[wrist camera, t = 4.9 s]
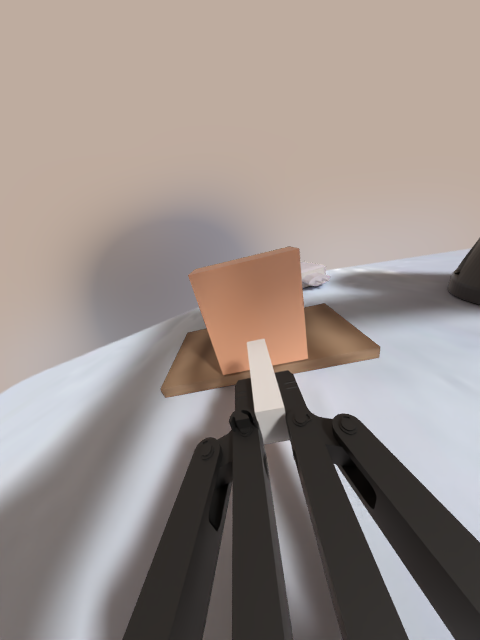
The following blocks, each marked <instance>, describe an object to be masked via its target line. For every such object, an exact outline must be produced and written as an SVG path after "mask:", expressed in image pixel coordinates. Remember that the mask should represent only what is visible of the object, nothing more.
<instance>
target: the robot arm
mask: <svg viewBox="0 0 480 640" xmlns="http://www.w3.org/2000/svg"><path fill="white" fill-rule="evenodd" d="M448 291H449V292H450V293H451V294H453V295H454V296H456V297H458V298H461V299H463V300H466V301H469V302H473V303H476V304H480V238H479V240H478V241H477V242H476V244H475V245H474V246H473V247H472V249H471V250H470V251H469V253H468V254H467V255H466V257H465V258H464V259H463V261H462V262H461V263H460V265H459V266H458V268H457V269H456V270H455V271H454V272H453V274H452V275H451V278H450V282H449V285H448ZM247 350H248V358H249V367H250V375H251V378H247V379H242V380H238V381H237V384H236V386H235V411H234V412H233V413H232V415H231V416H230V419H229V423H230V426H231V428H232V430H231V431H230V432H229V433H228V434H227V435H225V436H223V437H222V438H220V439H218V440H216V439H215V438H212V437H210V438H206V439H204V440H202V441H201V442H200V443H199V444H198V445H197V447H196V449H195V451H194V454H193V456H192V459H191V462H190V464H189V467H188V469H187V472H186V475H185V477H184V480H183V482H182V485H181V488H180V490H179V493H178V496H177V498H176V501H175V503H174V506H173V509H172V511H171V514H170V517H169V519H168V522H167V524H166V527H165V530H164V532H163V535H162V537H161V540H160V543H159V545H158V548H157V551H156V553H155V556H154V558H153V561H152V564H151V566H150V569H149V571H148V574H147V577H146V579H145V582H144V585H143V587H142V590H141V592H140V595H139V598H138V600H137V603H136V606H135V608H134V611H133V613H132V616H131V619H130V621H129V624H128V626H127V629H126V632H125V634H124V637H123V640H202V637H203V632H204V627H205V622H206V617H207V611H208V606H209V601H210V596H211V590H212V585H213V580H214V575H215V570H216V564H217V559H218V554H219V549H220V543H221V538H222V533H223V528H224V523H225V517H226V512H227V507H228V502H229V496H230V491H231V486H232V481H233V551H232V640H293V635H292V629H291V622H290V615H289V608H288V601H287V595H286V588H285V581H284V574H283V567H282V560H281V554H280V547H279V540H278V533H277V526H276V520H275V513H274V506H273V499H272V492H271V486H270V479H269V472H268V465H267V458H266V454H265V450H264V444H269V443H275V442H281V441H287V440H290V442H291V445H292V451H293V456H294V460H295V462H296V466H297V470H298V474H299V477H300V481H301V485H302V489H303V492H304V496H305V500H306V504H307V507H308V511H309V515H310V519H311V522H312V526H313V530H314V534H315V537H316V541H317V545H318V549H319V552H320V556H321V560H322V564H323V567H324V571H325V575H326V579H327V582H328V586H329V590H330V594H331V597H332V601H333V605H334V609H335V612H336V616H337V620H338V624H339V628H340V631H341V635H342V639H343V640H409V639H408V636H407V634H406V632H405V629H404V627H403V625H402V622H401V620H400V618H399V615H398V613H397V611H396V608H395V606H394V604H393V601H392V599H391V597H390V594H389V592H388V590H387V587H386V585H385V583H384V581H383V578H382V576H381V574H380V571H379V569H378V567H377V564H376V562H375V560H374V557H373V555H372V553H371V550H370V548H369V546H368V543H367V541H366V539H365V536H364V534H363V532H362V529H361V527H360V525H359V522H358V520H357V518H356V515H355V513H354V511H353V508H352V506H351V504H350V501H349V499H348V497H347V494H346V492H345V490H344V487H343V485H342V483H341V480H340V478H339V476H338V473H337V471H336V469H335V466H334V464H336V465H337V466H338V468H339V469H340V471H341V472H342V474H343V475H344V476H345V478H346V479H347V481H348V482H349V484H350V485H351V487H352V488H353V490H354V491H355V493H356V494H357V496H358V497H359V499H360V500H361V502H362V503H363V504H364V506H365V507H366V509H367V510H368V512H369V513H370V515H371V516H372V518H373V519H374V521H375V522H376V524H377V525H378V527H379V528H380V530H381V531H382V532H383V534H384V535H385V537H386V538H387V540H388V541H389V543H390V544H391V546H392V547H393V549H394V550H395V552H396V553H397V555H398V556H399V558H400V559H401V560H402V562H403V563H404V565H405V566H406V568H407V569H408V571H409V572H410V574H411V575H412V577H413V578H414V580H415V581H416V583H417V584H418V586H419V587H420V588H421V590H422V591H423V593H424V594H425V596H426V597H427V599H428V600H429V602H430V603H431V605H432V606H433V608H434V609H435V611H436V612H437V613H438V615H439V616H440V618H441V619H442V621H443V622H444V624H445V625H446V627H447V628H448V630H449V631H450V633H451V634H452V636H453V637H454V639H455V640H480V542H479V541H478V540H477V539H476V538H475V537H474V536H473V535H472V534H471V533H470V532H469V531H468V530H467V529H466V528H465V527H464V526H463V525H462V524H461V523H460V522H459V521H458V520H457V519H456V518H455V517H454V516H453V515H452V514H451V513H450V512H449V511H448V510H447V509H446V508H445V507H444V506H443V505H442V504H441V503H440V502H439V501H438V500H437V499H436V498H435V497H434V496H433V495H432V493H431V492H430V491H429V490H428V489H427V488H426V487H425V486H424V485H423V484H422V483H421V482H420V481H419V480H418V479H417V478H416V477H415V476H414V475H413V474H412V473H411V472H410V471H409V470H408V469H407V468H406V467H405V466H404V465H403V464H402V463H401V462H400V461H399V460H398V459H397V458H396V457H395V456H394V455H393V454H392V453H391V452H390V451H389V450H388V449H387V448H386V447H385V446H384V445H383V444H382V443H381V442H380V441H379V440H378V439H377V438H376V437H375V436H374V435H373V433H372V432H371V431H370V430H369V429H368V428H367V427H366V426H365V425H364V424H363V423H362V422H361V421H360V420H358V419H357V418H356V417H354V416H352V415H349V414H338V415H336V416H335V417H334V418H333V419H328V418H322V417H318V416H316V415H314V414H313V413H311V412H310V411H309V410H308V408H307V406H306V404H305V401H304V399H303V397H302V394H301V392H300V390H299V387H298V385H297V382H296V380H295V378H294V375H293V374H292V373H291V372H290V371H289V370H286V371H281V372H276V373H274V370H273V366H272V363H271V359H270V356H269V353H268V349H267V346H266V342H265V339H259V340H254V341H250V342H247Z"/></svg>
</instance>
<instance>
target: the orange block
mask: <svg viewBox="0 0 480 640" xmlns="http://www.w3.org/2000/svg"><path fill="white" fill-rule="evenodd" d="M188 276H189V279H190V282H191V285H192V287H193V290H194V293H195V296H196V299H197V302H198V305H199V308H200V310H201V313H202V316H203V319H204V322H205V325H206V328H207V330H208V333H209V336H210V339H211V342H212V345H213V348H214V350H215V353H216V356H217V359H218V362H219V365H220V368H221V370H222V373H223V375H226V374H232V373H237V372H242V371H247V370H250V367H249V358H248V350H247V342H250V341H254V340H259V339H265V342H266V346H267V349H268V353H269V356H270V359H271V363H272V366H273V365H278V364H283V363H289V362H294V361H299V360H304V359H308V352H307V339H306V327H305V314H304V302H303V289H302V277H301V264H300V252H299V248H294V247H285V248H281V249H277V250H273V251H269V252H265V253H261V254H257V255H253V256H248V257H244V258H240V259H236V260H232V261H228V262H223V263H219V264H215V265H211V266H207V267H203V268H199V269H195V270H194V271H193V272H191V273H190V274H189V275H188Z"/></svg>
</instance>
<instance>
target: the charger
mask: <svg viewBox="0 0 480 640" xmlns="http://www.w3.org/2000/svg"><path fill="white" fill-rule="evenodd" d="M300 264H301V277H302V288H305V287H308V286H318V285H321V284H324V283H325V282H326V281H329V278H330V276H329V275H326V269H325V265H321V264H316V263H309V262H300Z"/></svg>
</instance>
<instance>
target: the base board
mask: <svg viewBox="0 0 480 640" xmlns="http://www.w3.org/2000/svg"><path fill="white" fill-rule="evenodd" d="M304 314H305V327H306V339H307V352H308V359H304V360H299V361H294V362H289V363H283V364H278V365H273V370H274V373H276V372H281V371H286V370H289V371H290V372H291V373H292V374H294V373H300V372H305V371H310V370H316V369H321V368H326V367H331V366H337V365H342V364H347V363H353V362H358V361H363V360H369V359H374V358H379V354H380V346H379V345H377V344H376V343H375V342H373V341H372V340H371V339H370V338H368V337H367V336H366V335H365V334H363V333H362V332H361V331H359V330H358V329H357V328H356V327H354V326H353V325H352V324H350V323H349V322H348V321H347V320H345V319H344V318H343V317H341V316H340V315H339V314H338V313H336V312H335V311H334V310H333V309H331V308H330V307H329V306H327V305H326V304H325V303H323V304H319V305H314V306H309V307H305V308H304ZM247 378H251V375H250V370H247V371H242V372H237V373H232V374H226V375H223V373H222V370H221V368H220V365H219V362H218V359H217V356H216V353H215V350H214V348H213V345H212V342H211V339H210V336H209V333H208V330H207V329H203V330H198V331H193V332H189V333H187V335H186V337H185V339H184V341H183V344H182V346H181V348H180V350H179V352H178V354H177V356H176V358H175V360H174V362H173V364H172V366H171V368H170V370H169V373H168V375H167V377H166V379H165V381H164V383H163V385H162V387H161V391H162V393H163V395H164V396H165V398H167V397H172V396H177V395H183V394H188V393H193V392H199V391H204V390H209V389H215V388H220V387H225V386H230V385H236V384H237V381H238V380H242V379H247Z"/></svg>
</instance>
